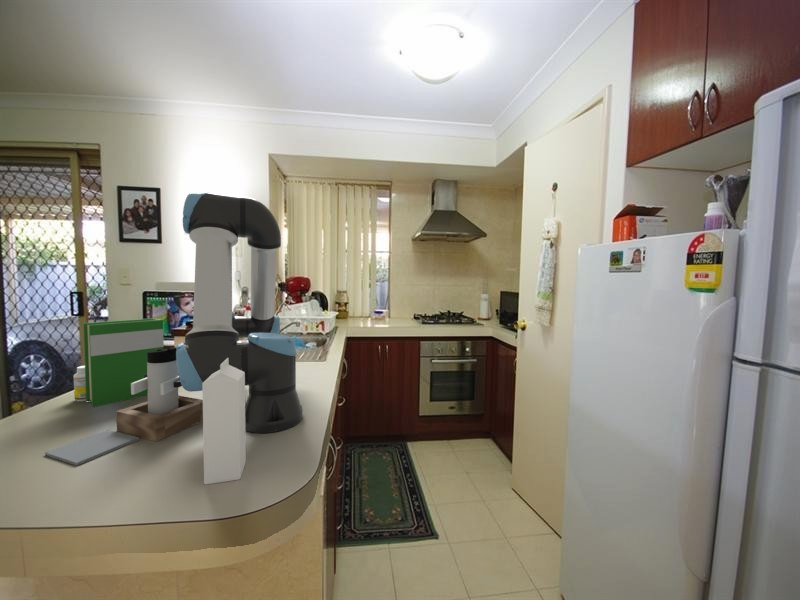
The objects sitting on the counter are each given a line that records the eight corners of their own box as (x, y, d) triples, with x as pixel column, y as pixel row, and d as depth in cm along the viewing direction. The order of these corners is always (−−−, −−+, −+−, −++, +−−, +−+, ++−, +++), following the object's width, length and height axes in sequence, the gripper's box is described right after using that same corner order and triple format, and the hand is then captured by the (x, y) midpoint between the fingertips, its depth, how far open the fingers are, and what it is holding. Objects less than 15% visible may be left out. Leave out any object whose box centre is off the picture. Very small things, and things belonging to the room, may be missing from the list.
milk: (204, 485, 57) (200, 366, 56) (213, 466, 63) (210, 358, 62) (240, 479, 59) (238, 363, 58) (246, 461, 65) (244, 356, 63)
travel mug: (163, 431, 77) (162, 351, 76) (141, 428, 78) (140, 349, 77) (185, 420, 83) (184, 346, 82) (164, 417, 85) (163, 344, 83)
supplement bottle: (92, 394, 101) (90, 363, 101) (104, 396, 100) (103, 364, 99) (69, 400, 96) (68, 367, 95) (82, 403, 94) (80, 369, 94)
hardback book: (92, 407, 91) (89, 325, 90) (86, 401, 95) (83, 323, 94) (164, 390, 106) (162, 319, 104) (156, 386, 110) (154, 318, 109)
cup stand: (207, 418, 85) (207, 400, 84) (156, 441, 72) (155, 420, 72) (170, 411, 89) (170, 393, 89) (116, 431, 77) (116, 411, 77)
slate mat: (138, 440, 73) (138, 437, 73) (76, 465, 63) (76, 462, 63) (107, 432, 77) (107, 429, 76) (45, 455, 66) (44, 452, 66)
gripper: (236, 376, 99) (188, 404, 76) (174, 375, 98) (107, 404, 75) (236, 352, 98) (187, 374, 75) (174, 352, 98) (106, 373, 75)
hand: (147, 389), depth 75 cm, fingers closed on travel mug, 6 cm apart
